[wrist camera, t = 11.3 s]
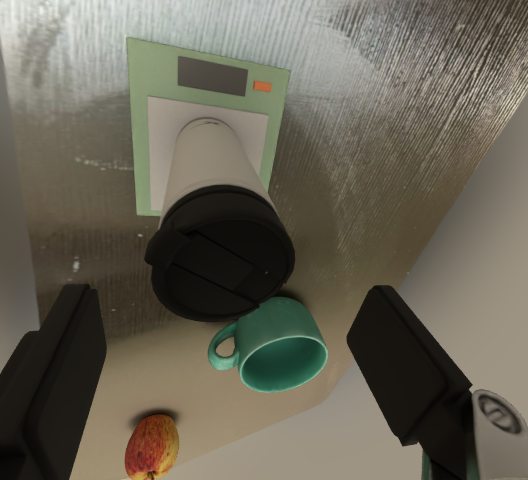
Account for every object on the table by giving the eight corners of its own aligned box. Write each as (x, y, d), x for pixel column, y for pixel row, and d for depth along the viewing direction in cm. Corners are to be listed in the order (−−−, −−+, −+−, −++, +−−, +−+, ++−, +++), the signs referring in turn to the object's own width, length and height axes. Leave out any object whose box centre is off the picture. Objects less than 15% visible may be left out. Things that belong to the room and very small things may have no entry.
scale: (130, 37, 25) (124, 36, 22) (284, 69, 28) (293, 70, 26) (139, 206, 33) (135, 217, 30) (258, 213, 36) (263, 224, 34)
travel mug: (198, 98, 26) (207, 176, 9) (252, 146, 29) (331, 268, 12) (159, 152, 27) (107, 299, 11) (214, 192, 31) (238, 351, 14)
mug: (317, 288, 46) (343, 336, 38) (292, 341, 52) (310, 391, 44) (214, 280, 41) (219, 333, 33) (200, 339, 47) (201, 396, 39)
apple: (159, 399, 53) (153, 463, 45) (189, 416, 58) (189, 475, 50) (120, 421, 54) (107, 486, 46) (153, 435, 59) (147, 496, 51)
